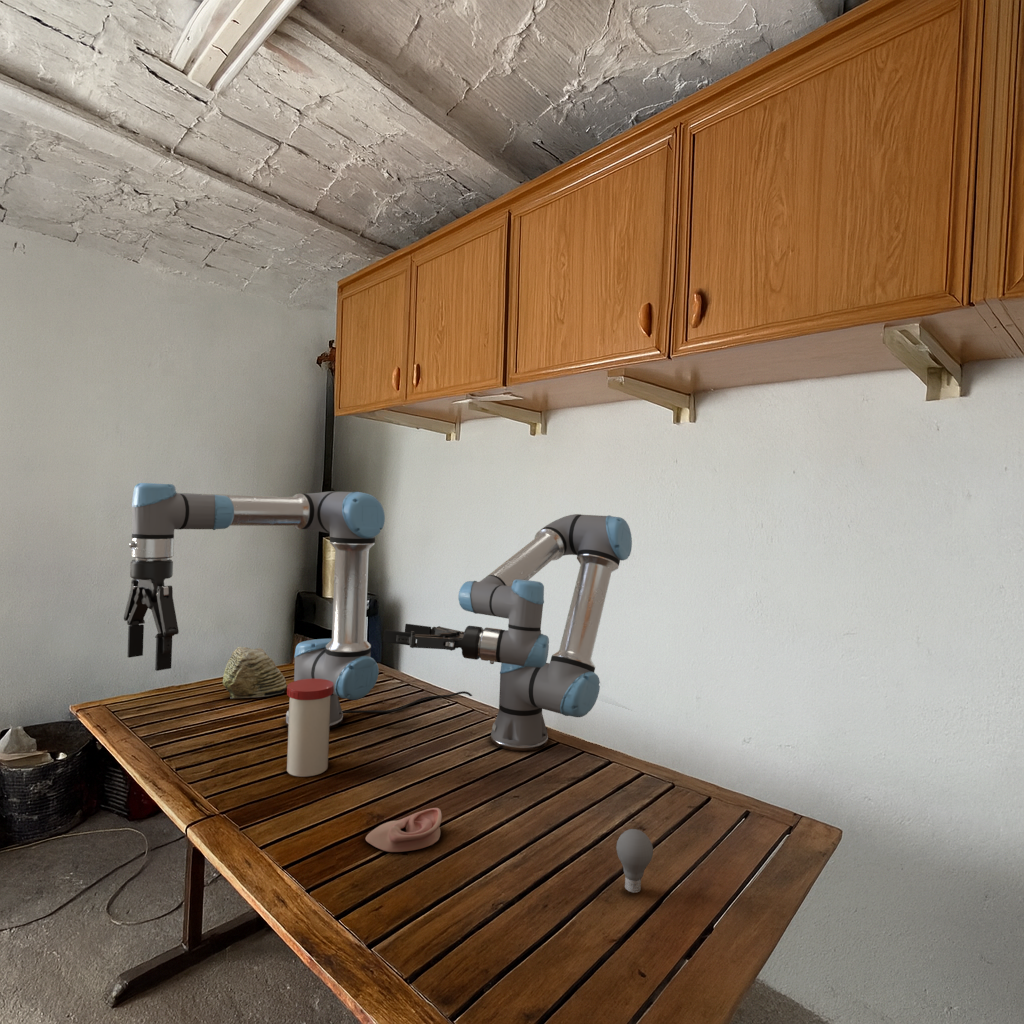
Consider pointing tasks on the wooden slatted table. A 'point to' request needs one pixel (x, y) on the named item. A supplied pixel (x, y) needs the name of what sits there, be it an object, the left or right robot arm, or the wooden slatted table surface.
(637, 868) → the light bulb
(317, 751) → the jar
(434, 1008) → the wooden slatted table surface
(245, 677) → the fossil
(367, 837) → the anatomical model
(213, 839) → the wooden slatted table surface
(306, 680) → the lid
